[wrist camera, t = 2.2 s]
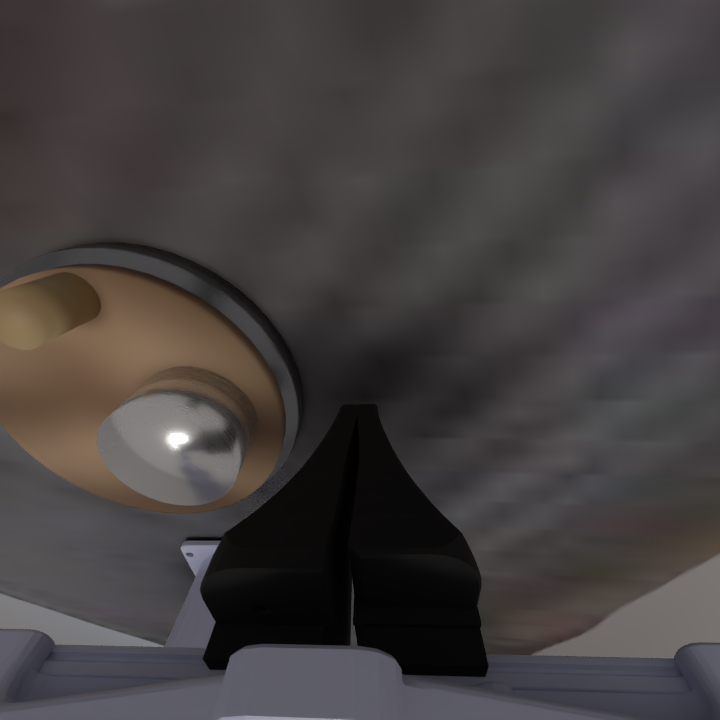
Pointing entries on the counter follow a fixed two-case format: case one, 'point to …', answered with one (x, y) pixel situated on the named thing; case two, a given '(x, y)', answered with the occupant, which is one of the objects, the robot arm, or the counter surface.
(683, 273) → the counter surface
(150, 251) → the turntable base
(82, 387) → the turntable
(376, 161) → the counter surface
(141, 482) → the cover puck
